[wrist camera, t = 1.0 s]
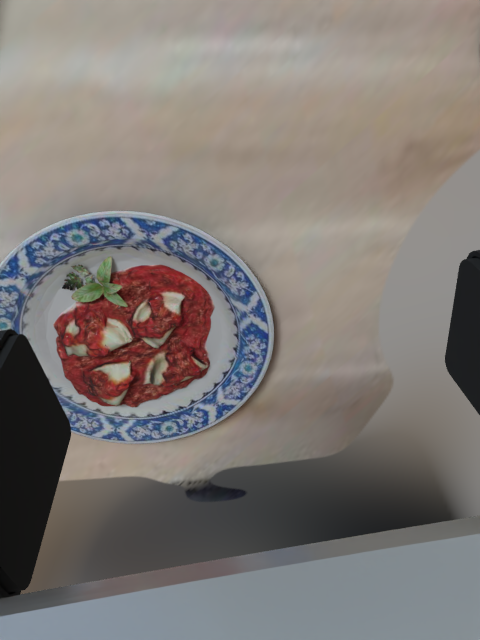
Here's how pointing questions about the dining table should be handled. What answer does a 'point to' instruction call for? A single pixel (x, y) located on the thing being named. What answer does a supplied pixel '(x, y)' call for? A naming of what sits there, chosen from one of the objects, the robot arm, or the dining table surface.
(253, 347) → the ceramic plate
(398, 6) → the dining table surface
